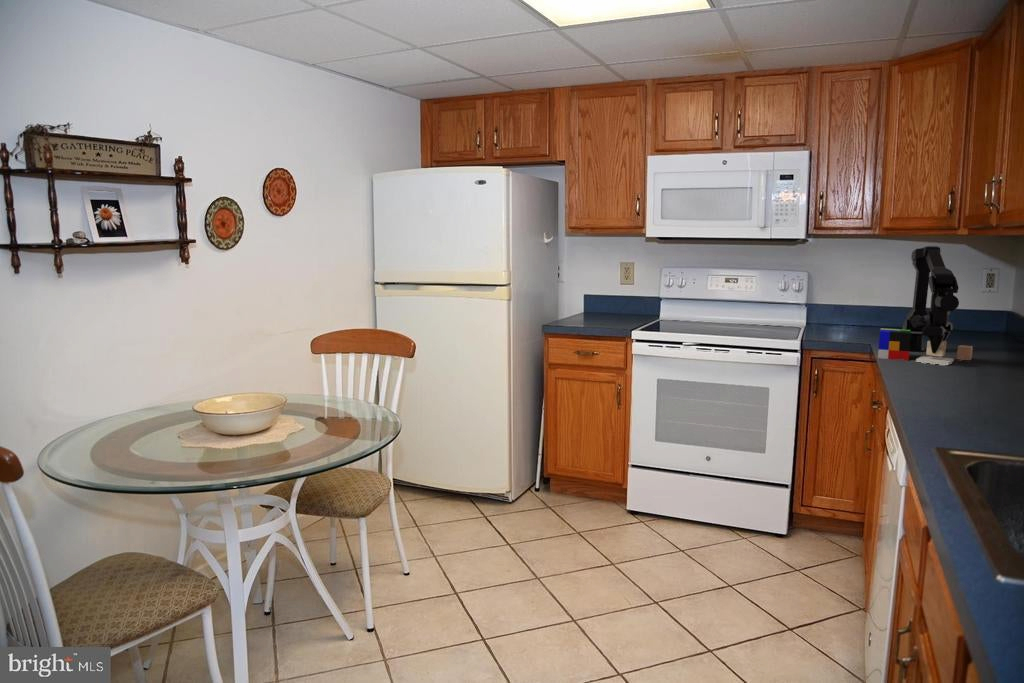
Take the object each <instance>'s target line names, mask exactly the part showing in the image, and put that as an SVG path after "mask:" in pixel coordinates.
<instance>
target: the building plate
mask: <svg viewBox="0 0 1024 683" xmlns="http://www.w3.org/2000/svg"><path fill="white" fill-rule="evenodd" d="M953 361H954V362H955V358H951V357H943V356H942V357H941V356H931V355H921V356H919V357H917V358H916V359H915V363H916V362H921V363H920V364H926V363H930V364H929V365H935V364H939V365H938V366H945V365H949V364H950V365H951V364H953V363H954V362H953ZM952 362H953V363H952ZM950 365H949V366H950Z"/></svg>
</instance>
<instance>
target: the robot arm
mask: <svg viewBox="0 0 1024 683" xmlns="http://www.w3.org/2000/svg"><path fill="white" fill-rule="evenodd" d="M910 257H911V261H912V266H913V267H914V269H915V281H914V290H913V298H912V299H913V300H912V307H911V309H910V311H909V312H908V313H907V314H906V318H905V319H904V322H903V325H902V328H901V330H911V338H910V350H909V352H910V351H911V352H923V351H924V350H925V349H926V348H924V347H923V346H924V336H926V337H927V338H928V339H929V340H930V344H931V349H932V353H936V352H937V350H938V348H939V346H940V344H941V342H942V341H947V340H946V339H947V338H948V337H949V335H950V334H951V331H953V329H954V328H953V327H954V326H953V323H952V322H950V321H949V315H950V314H951V312H953V311H955V310H957V308H958V307H959V305H960V301H959V298H958V297H957V296H955V295H954V294H958V293H959V285H958V284H959V283H958V280H957V278H956V276H955V275H954V272H953V271H952V270H951V269H949V268H947V267H946V265H945V262H944V260H943V257H942V254H941V247H940V246H938V245H934V246H933V245H931V246H929V245H928V246H927V245H926V246H924V247H921V248H915V250H913V251H912V252H911V256H910ZM929 290H930V292H931V298H930V308H929V310H928V311H927V304H928V303H927V301H928V295H929V294H928V293H929ZM946 330H948V331H946ZM925 351H926V350H925Z"/></svg>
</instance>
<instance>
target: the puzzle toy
mask: <svg viewBox="0 0 1024 683" xmlns="http://www.w3.org/2000/svg"><path fill="white" fill-rule="evenodd" d="M911 332H912V331H911V330H902V328H901V329H899V328H880V329H879V337H878V338H879V339H878V351H877V358H878V359H883V360H886V359H887V360H896V359H904V360H903V361H909V360H910V338H911Z"/></svg>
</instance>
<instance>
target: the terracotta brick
mask: <svg viewBox="0 0 1024 683" xmlns="http://www.w3.org/2000/svg"><path fill="white" fill-rule="evenodd" d="M973 349H974V347H973V345H963V344H962V345H957V353H956V360H957V359H961V360H960V361H962V360H971V359H972V358H973V351H974V350H973ZM972 360H973V359H972ZM972 360H971V361H972Z"/></svg>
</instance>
